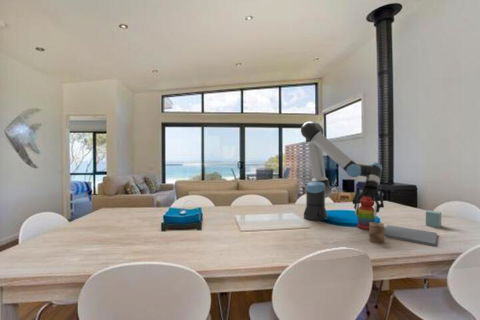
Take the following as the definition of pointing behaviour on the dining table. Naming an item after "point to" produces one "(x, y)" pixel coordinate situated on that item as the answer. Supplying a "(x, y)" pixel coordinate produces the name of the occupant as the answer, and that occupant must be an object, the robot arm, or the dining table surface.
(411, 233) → the slate board
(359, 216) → the stacking bear
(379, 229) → the walnut block
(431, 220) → the grey-teal block
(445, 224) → the dining table surface
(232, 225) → the dining table surface
